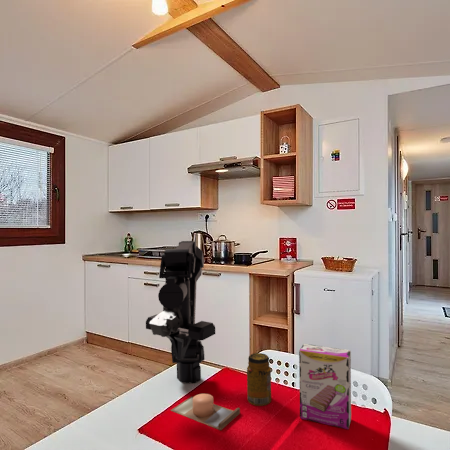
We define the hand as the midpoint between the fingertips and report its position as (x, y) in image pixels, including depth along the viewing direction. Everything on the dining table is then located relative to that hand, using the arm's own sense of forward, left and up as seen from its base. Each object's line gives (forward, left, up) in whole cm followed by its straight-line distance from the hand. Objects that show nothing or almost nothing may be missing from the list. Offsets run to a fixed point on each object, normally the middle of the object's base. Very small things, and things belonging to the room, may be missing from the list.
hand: (180, 359), depth 88 cm
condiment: (+17, +11, -12) cm, 24 cm away
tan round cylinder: (+7, 0, -11) cm, 13 cm away
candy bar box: (+33, +13, -12) cm, 37 cm away
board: (+8, 0, -12) cm, 14 cm away
